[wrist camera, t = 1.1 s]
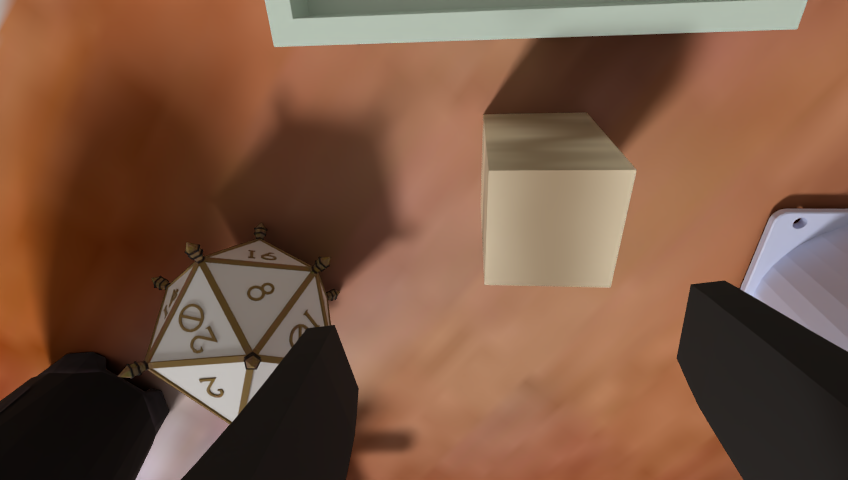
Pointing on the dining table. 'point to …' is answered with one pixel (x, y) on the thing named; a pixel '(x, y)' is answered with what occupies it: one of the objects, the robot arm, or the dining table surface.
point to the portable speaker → (78, 424)
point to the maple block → (551, 200)
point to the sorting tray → (514, 19)
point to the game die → (233, 322)
